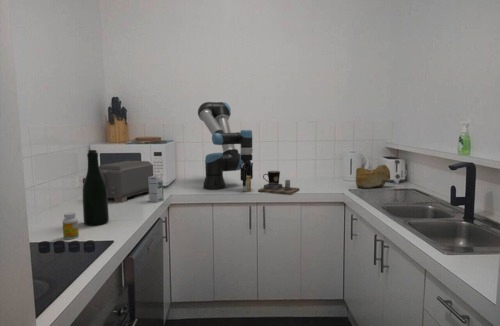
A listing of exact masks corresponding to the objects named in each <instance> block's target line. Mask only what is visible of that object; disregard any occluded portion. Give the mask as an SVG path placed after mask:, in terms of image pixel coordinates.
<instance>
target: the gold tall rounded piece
mask: <svg viewBox="0 0 500 326" xmlns="http://www.w3.org/2000/svg"><path fill="white" fill-rule="evenodd" d="M246 181H247V191H243V193H245V192H246V193H247V192H252V179H251V176H250V175H247V177H246Z"/></svg>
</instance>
